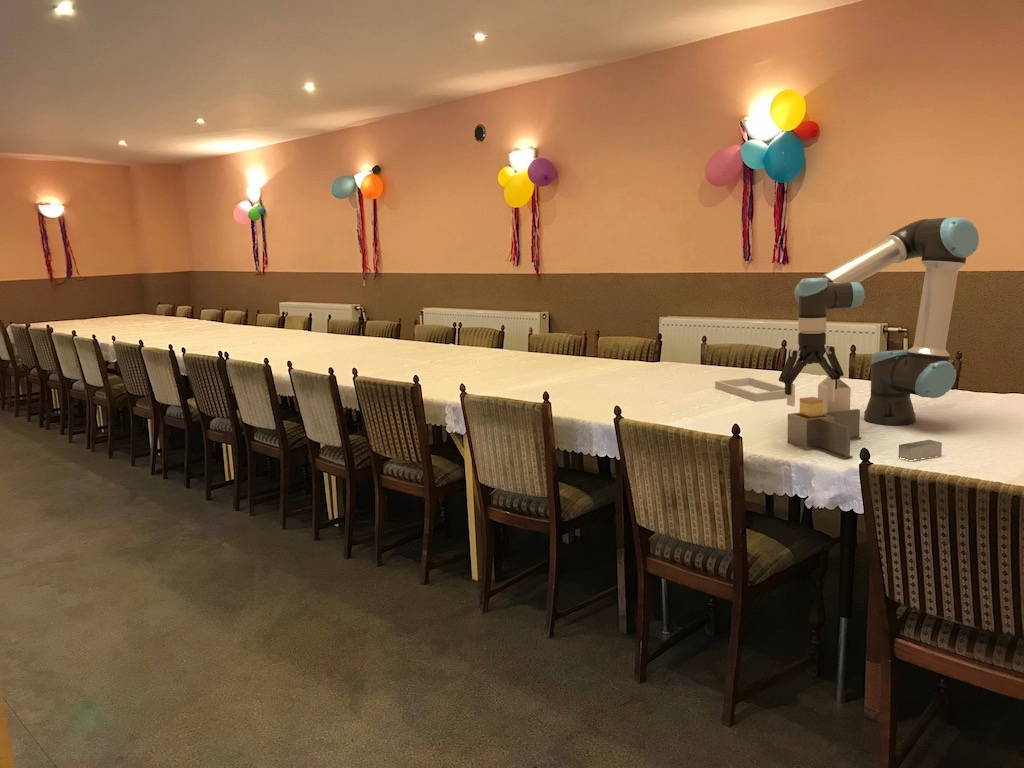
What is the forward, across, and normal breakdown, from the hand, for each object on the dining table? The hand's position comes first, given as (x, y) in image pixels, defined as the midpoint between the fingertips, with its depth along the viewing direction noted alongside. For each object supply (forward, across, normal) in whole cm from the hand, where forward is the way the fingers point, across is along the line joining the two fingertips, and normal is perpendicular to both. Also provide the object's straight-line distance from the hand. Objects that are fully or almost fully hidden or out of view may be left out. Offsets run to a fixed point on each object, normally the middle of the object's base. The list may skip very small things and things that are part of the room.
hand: (810, 403), depth 221 cm
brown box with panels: (+13, -6, +6) cm, 15 cm away
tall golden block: (+13, 0, 0) cm, 13 cm away
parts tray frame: (+13, -27, -74) cm, 80 cm away
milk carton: (+13, -14, -8) cm, 21 cm away
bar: (+13, -18, +23) cm, 32 cm away
